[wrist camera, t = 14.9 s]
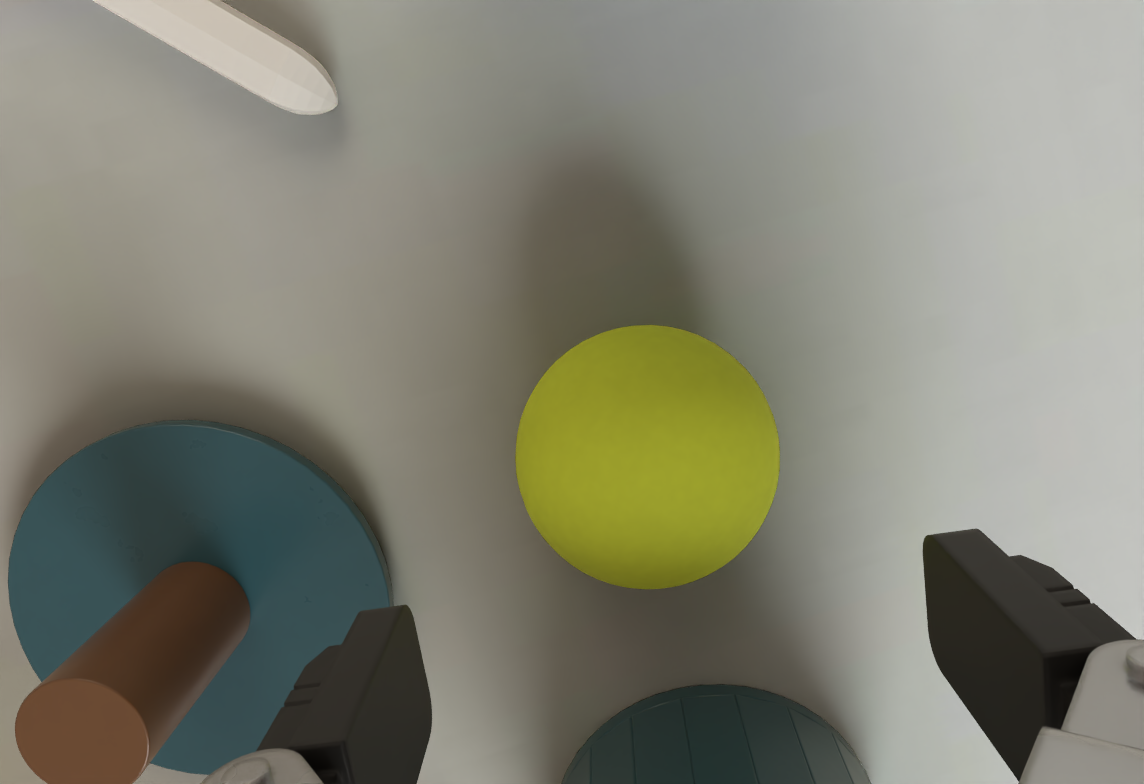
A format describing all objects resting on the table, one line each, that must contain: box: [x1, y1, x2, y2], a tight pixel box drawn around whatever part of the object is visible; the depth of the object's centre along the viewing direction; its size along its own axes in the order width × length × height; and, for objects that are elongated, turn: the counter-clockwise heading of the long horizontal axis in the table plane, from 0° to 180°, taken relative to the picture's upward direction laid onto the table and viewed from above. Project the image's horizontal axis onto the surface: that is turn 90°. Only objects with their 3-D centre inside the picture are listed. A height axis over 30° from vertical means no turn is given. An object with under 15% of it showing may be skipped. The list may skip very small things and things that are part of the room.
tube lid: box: [8, 420, 394, 784], centre depth 23 cm, size 11×11×7 cm
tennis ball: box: [515, 325, 780, 589], centre depth 22 cm, size 6×6×6 cm
